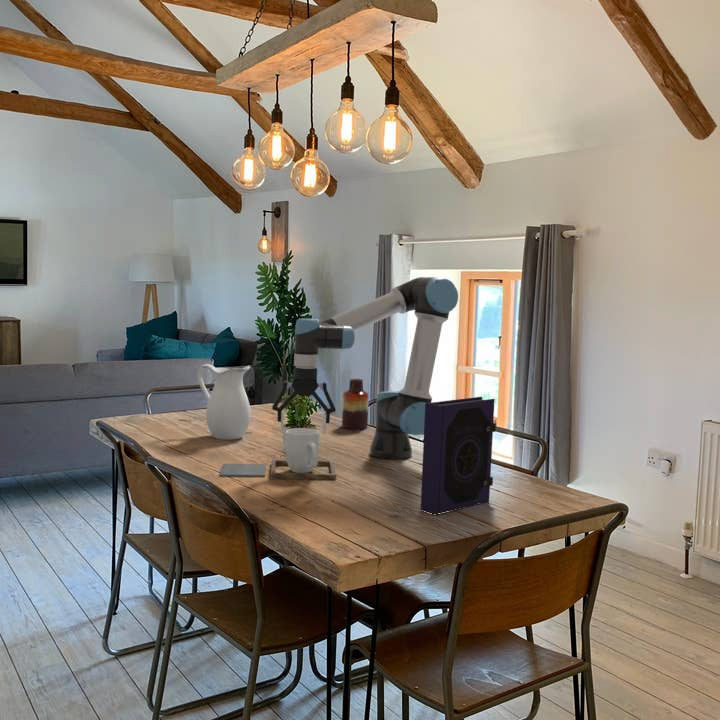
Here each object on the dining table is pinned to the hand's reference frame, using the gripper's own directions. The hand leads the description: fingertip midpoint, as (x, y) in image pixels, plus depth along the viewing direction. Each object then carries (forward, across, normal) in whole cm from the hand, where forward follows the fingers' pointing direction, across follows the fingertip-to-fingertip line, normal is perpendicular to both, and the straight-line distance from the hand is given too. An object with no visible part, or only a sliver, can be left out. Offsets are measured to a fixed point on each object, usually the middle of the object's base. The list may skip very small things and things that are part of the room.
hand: (303, 432), depth 248 cm
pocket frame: (+13, 0, 0) cm, 13 cm away
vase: (+12, -24, -76) cm, 81 cm away
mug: (+13, 0, 0) cm, 13 cm away
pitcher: (+13, +30, -54) cm, 64 cm away
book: (+13, -43, +36) cm, 58 cm away
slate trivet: (+13, +18, 0) cm, 23 cm away
